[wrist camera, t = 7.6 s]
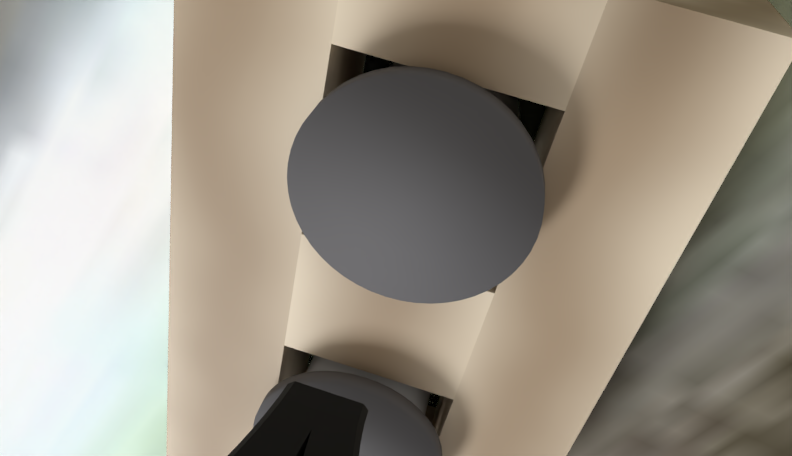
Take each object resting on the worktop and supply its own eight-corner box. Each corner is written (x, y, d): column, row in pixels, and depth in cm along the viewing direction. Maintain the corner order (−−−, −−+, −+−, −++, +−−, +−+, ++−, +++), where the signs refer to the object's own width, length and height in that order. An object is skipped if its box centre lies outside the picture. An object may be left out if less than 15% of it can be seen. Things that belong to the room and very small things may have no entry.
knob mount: (756, -14, 15) (803, 40, 12) (507, 477, 26) (497, 576, 23) (257, -149, 16) (176, -132, 13) (216, 382, 27) (166, 464, 24)
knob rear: (481, 314, 22) (461, 423, 18) (439, 425, 25) (415, 537, 21) (314, 262, 22) (262, 358, 18) (294, 378, 25) (246, 480, 22)
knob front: (583, 46, 17) (585, 122, 13) (514, 229, 20) (499, 332, 16) (363, -16, 17) (304, 41, 13) (330, 174, 20) (274, 262, 16)
